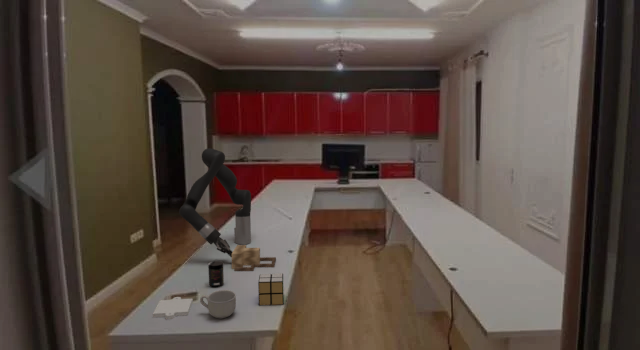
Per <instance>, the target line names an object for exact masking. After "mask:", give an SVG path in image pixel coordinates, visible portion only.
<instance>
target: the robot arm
mask: <svg viewBox="0 0 640 350" xmlns="http://www.w3.org/2000/svg"><path fill="white" fill-rule="evenodd" d="M201 160H202V162H203V164H204V165H205V166H207V168H208V170H207V171H206V172H205V173H204V174H203V175H202V176H200V177H199V178H198V179H197V180H196V181H195V182H194V183H193V184H192V185H191V187H190V189H189V191H188V193H187V195H186V199H185V201H184V203H183V204H182V206H180V208H179V215H180V217H182V218H183V219H184V220H185V221H186V222H187V223H189V225H191V227H192V228H193V229H194V230H195V231H197V232H198V234H199V235H200V236H201V237H202V238H203V239H204V240H205V241H206V242H207V243H208V244H210V245H213V244H214V245H215V248H216V250H217V251H220V252H221V253H222V254H227V255H228V256H229V257H230V258H231V259H232V252H233V250H231V247H230V245H229V243H228V242H227V240H226V239H224V238H222V237H221V235H222V234H221V232H219V230H218V229H217V228H215V226H213V225H212V224H211V223H209V222H208V220H207V219H205V218H204V217H203V216H202V215H200V214H199V212H198V211H197V210H196V209H197V206H198V205H199V203H200V201H201V199H202V198H203V196H204V193H205V191H206V189H207V188H208V186H209V185H210V184H211V182H212V181H213V179H214V178H217V180H218V182H219V183H220V185H222V187H223V188H224V190H225V191H226V192H227V194H228V195H229V198H230V200H231V201H232V203H233V204H235V205H241V206H242V208H240V209H238V210H235V212H234V214H235V215H234V216H235V217H234V218H235V219H234V220H235V226H234V228H233V230H234V234H233V235H234V243H235V244H237V245H248V244H251V243H252V231H251V230H252V227H251V226H252V225H251V224H252V223H251V222H252V221H251V210H252V208H251V207H252V193H251V191H250V190H249V189H237V188H236V186H237V185H238V179H237V175H235V173H234V172H233V171H232V170H231V169H230V168H229V167H228V166H227V165H225V164H224V163H225V161H226V156H225V153H224V152H223V151H220V150H217V149H214V148H212V147H211V148H209V147H208V148H205V149H204V150H203V151H202V153H201Z"/></svg>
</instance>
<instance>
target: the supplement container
mask: <svg viewBox="0 0 640 350" xmlns="http://www.w3.org/2000/svg"><path fill="white" fill-rule="evenodd" d="M207 265H208V266H207V268H208V271H207V272H208V285H209V287H210V288H220V287H223V286H224V283H225V282H224V281H225V280H224V262H223V261H220V260H214V261H210V262H208V264H207Z"/></svg>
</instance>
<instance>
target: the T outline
mask: <svg viewBox="0 0 640 350" xmlns="http://www.w3.org/2000/svg"><path fill="white" fill-rule="evenodd" d="M260 262H270V263H260V264H252V265H250V266H243V267H235V268H234V269H233V271H234V272H254V270H255V268H275V266H276V262H277V257H276V256H274V257H273V256H272V257H271V256H269V257H268V256H267V257H266V256H265V257H264V256H263V257H262V256H260Z"/></svg>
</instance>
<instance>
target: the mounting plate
mask: <svg viewBox="0 0 640 350" xmlns="http://www.w3.org/2000/svg"><path fill="white" fill-rule="evenodd" d="M193 300H194V299H193V298H182V297H181V296H176V297H173V298H172V299H162V300H161V299H160V300H159V301H158V303H157V306H156V307H155V308H154V311H153V313H152V318H153V319H154V318H165V320H174V319H175V318H176V317H181V316H182V317H184V316H189V313H190V312H191V308H192V305H193V303H194V302H193Z"/></svg>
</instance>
